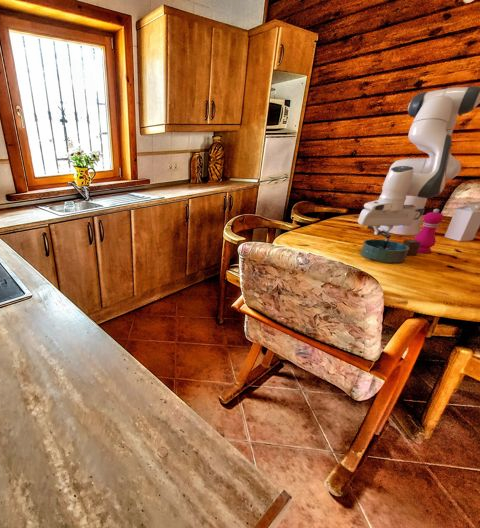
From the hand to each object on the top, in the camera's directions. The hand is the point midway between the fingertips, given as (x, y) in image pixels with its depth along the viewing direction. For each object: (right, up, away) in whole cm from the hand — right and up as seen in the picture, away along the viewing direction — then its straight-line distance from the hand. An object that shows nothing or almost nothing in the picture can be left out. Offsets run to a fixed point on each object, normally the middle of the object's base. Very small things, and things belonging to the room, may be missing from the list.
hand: (380, 234), depth 129 cm
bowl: (-2, -11, -3) cm, 11 cm away
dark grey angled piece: (+1, -5, +4) cm, 7 cm away
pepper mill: (+20, -8, +1) cm, 21 cm away
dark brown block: (+11, -9, -1) cm, 15 cm away
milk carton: (+52, -1, +13) cm, 53 cm away
